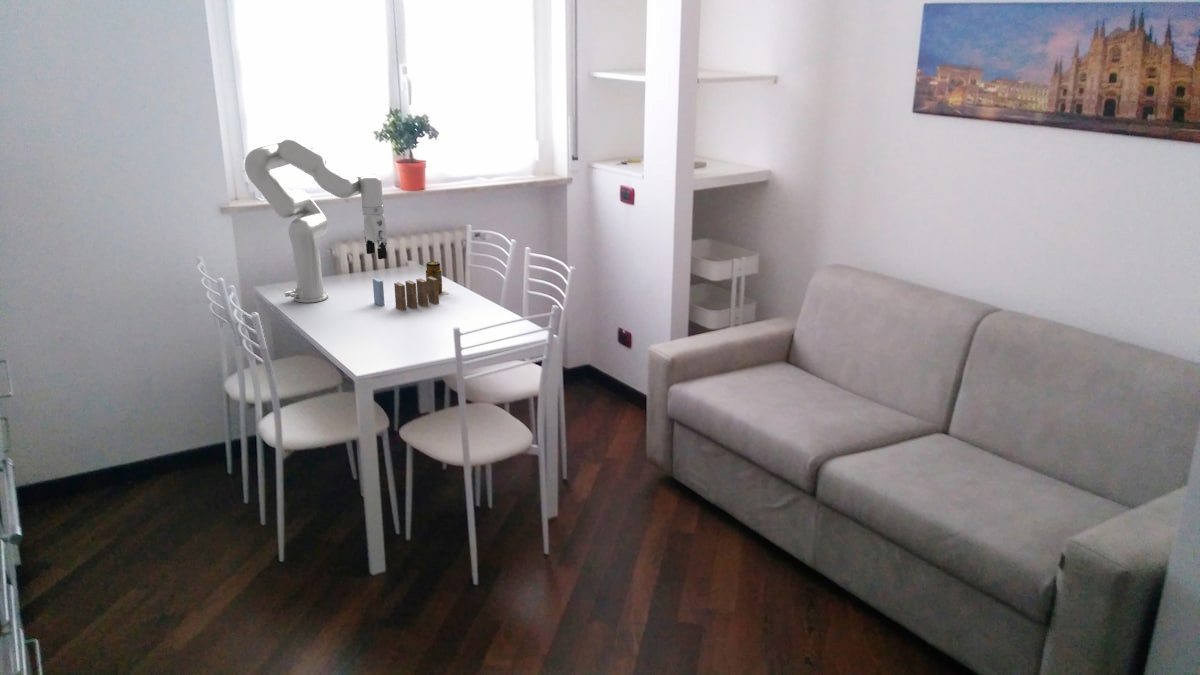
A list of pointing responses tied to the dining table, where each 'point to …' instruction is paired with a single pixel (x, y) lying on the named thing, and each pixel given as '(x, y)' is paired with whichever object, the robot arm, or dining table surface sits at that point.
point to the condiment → (435, 275)
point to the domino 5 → (433, 290)
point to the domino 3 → (411, 294)
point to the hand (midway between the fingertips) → (376, 256)
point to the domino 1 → (378, 292)
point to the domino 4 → (422, 292)
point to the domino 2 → (400, 296)
